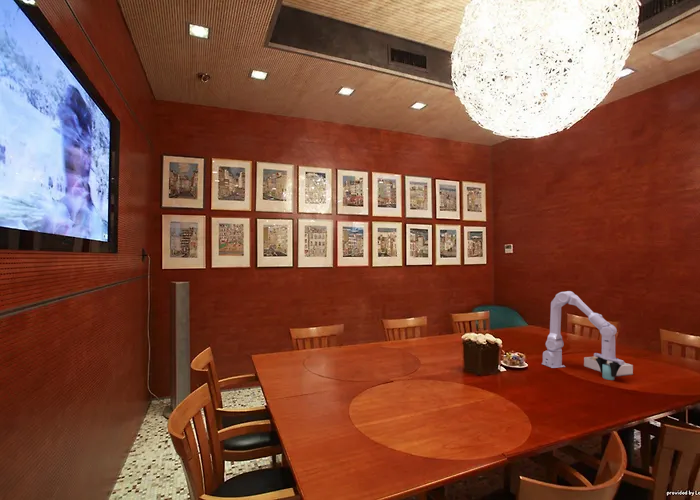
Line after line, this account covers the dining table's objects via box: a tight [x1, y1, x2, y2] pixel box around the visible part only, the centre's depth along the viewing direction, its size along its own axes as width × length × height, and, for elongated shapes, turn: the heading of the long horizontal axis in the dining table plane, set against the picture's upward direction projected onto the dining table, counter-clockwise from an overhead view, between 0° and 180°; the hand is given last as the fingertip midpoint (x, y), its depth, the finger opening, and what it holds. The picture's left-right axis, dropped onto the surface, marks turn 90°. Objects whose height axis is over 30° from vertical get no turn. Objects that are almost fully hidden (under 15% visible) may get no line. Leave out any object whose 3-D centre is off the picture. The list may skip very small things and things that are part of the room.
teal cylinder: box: [601, 363, 616, 381], centre depth 179 cm, size 5×5×7 cm
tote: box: [583, 356, 634, 377], centre depth 192 cm, size 13×17×5 cm
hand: (608, 374), depth 179 cm, fingers closed on teal cylinder, 5 cm apart
